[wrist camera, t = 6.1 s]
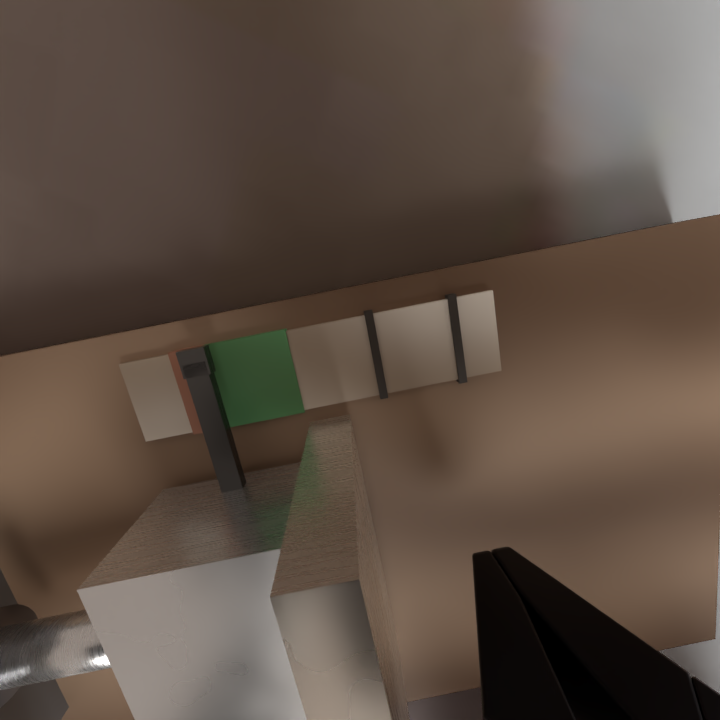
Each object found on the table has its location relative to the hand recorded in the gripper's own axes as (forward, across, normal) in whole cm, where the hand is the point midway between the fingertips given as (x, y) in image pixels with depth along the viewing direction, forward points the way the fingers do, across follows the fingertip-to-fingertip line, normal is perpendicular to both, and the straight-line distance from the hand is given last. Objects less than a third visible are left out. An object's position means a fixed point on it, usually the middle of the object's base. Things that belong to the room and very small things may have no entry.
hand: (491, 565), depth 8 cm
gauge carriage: (+2, +7, -1) cm, 7 cm away
